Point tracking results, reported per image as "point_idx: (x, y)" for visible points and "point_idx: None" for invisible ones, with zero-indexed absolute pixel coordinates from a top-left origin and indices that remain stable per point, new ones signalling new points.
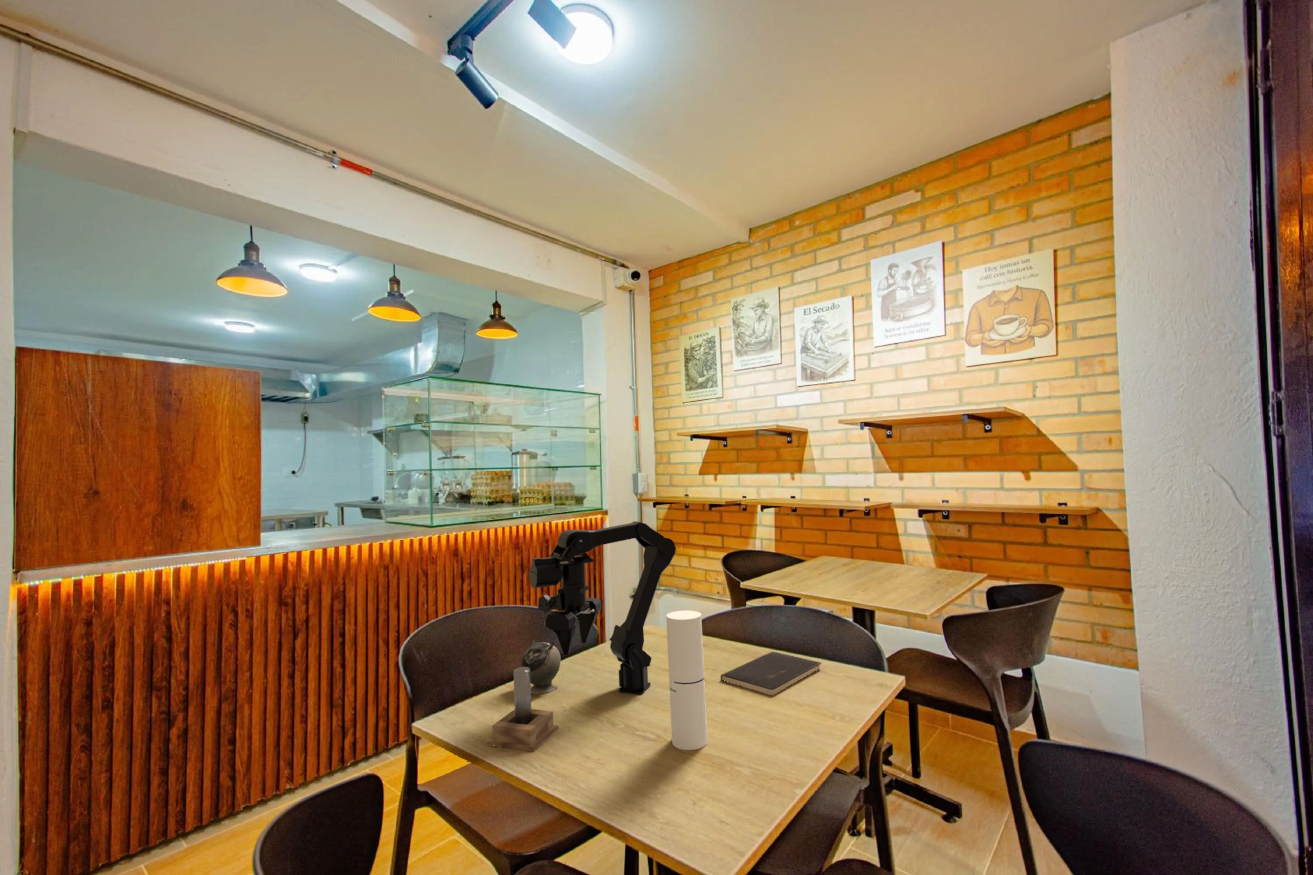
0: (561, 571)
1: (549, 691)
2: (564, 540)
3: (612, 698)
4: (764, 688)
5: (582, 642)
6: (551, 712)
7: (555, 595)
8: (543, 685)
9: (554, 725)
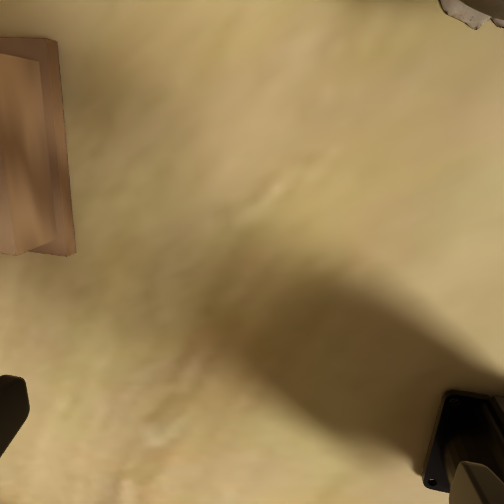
0: None
1: (451, 7)
2: None
3: (373, 374)
4: None
5: (459, 469)
6: (6, 253)
7: None
8: None
9: (59, 242)
